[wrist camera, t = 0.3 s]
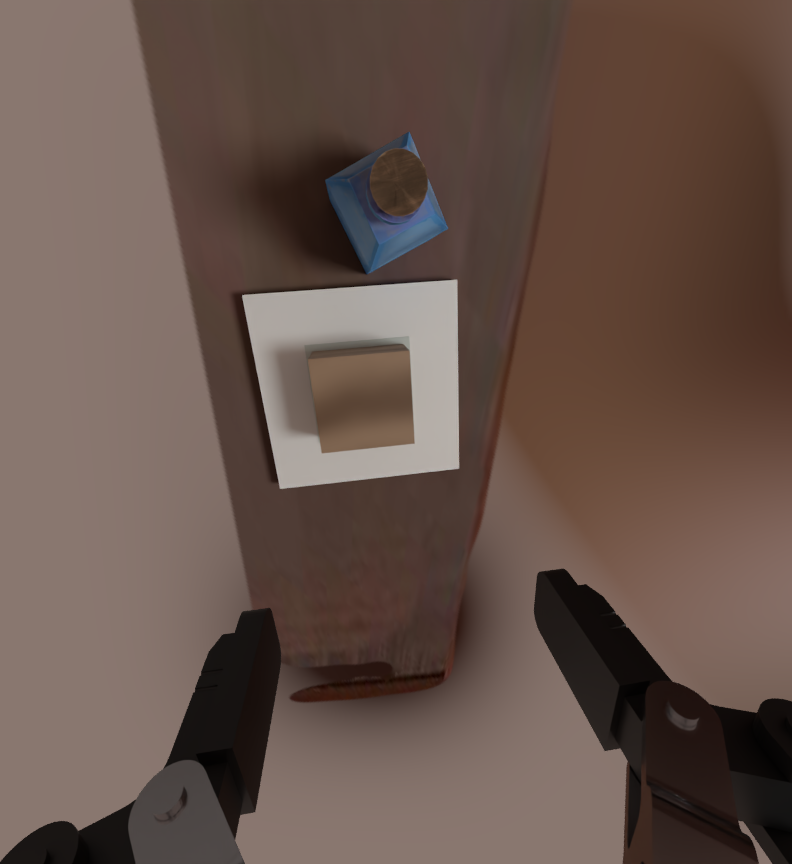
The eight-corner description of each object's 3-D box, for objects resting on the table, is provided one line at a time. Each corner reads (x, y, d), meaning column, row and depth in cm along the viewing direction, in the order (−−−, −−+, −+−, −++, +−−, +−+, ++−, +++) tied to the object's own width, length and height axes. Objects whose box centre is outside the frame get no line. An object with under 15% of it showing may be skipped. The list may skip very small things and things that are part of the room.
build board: (245, 294, 33) (241, 295, 31) (453, 279, 34) (457, 279, 33) (282, 483, 39) (279, 489, 38) (455, 463, 40) (459, 468, 39)
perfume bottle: (366, 274, 33) (375, 267, 22) (329, 200, 31) (318, 150, 20) (430, 239, 33) (472, 213, 22) (397, 161, 31) (426, 87, 19)
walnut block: (312, 351, 34) (307, 359, 30) (402, 343, 34) (409, 350, 30) (324, 436, 36) (321, 453, 33) (408, 428, 37) (414, 443, 33)
